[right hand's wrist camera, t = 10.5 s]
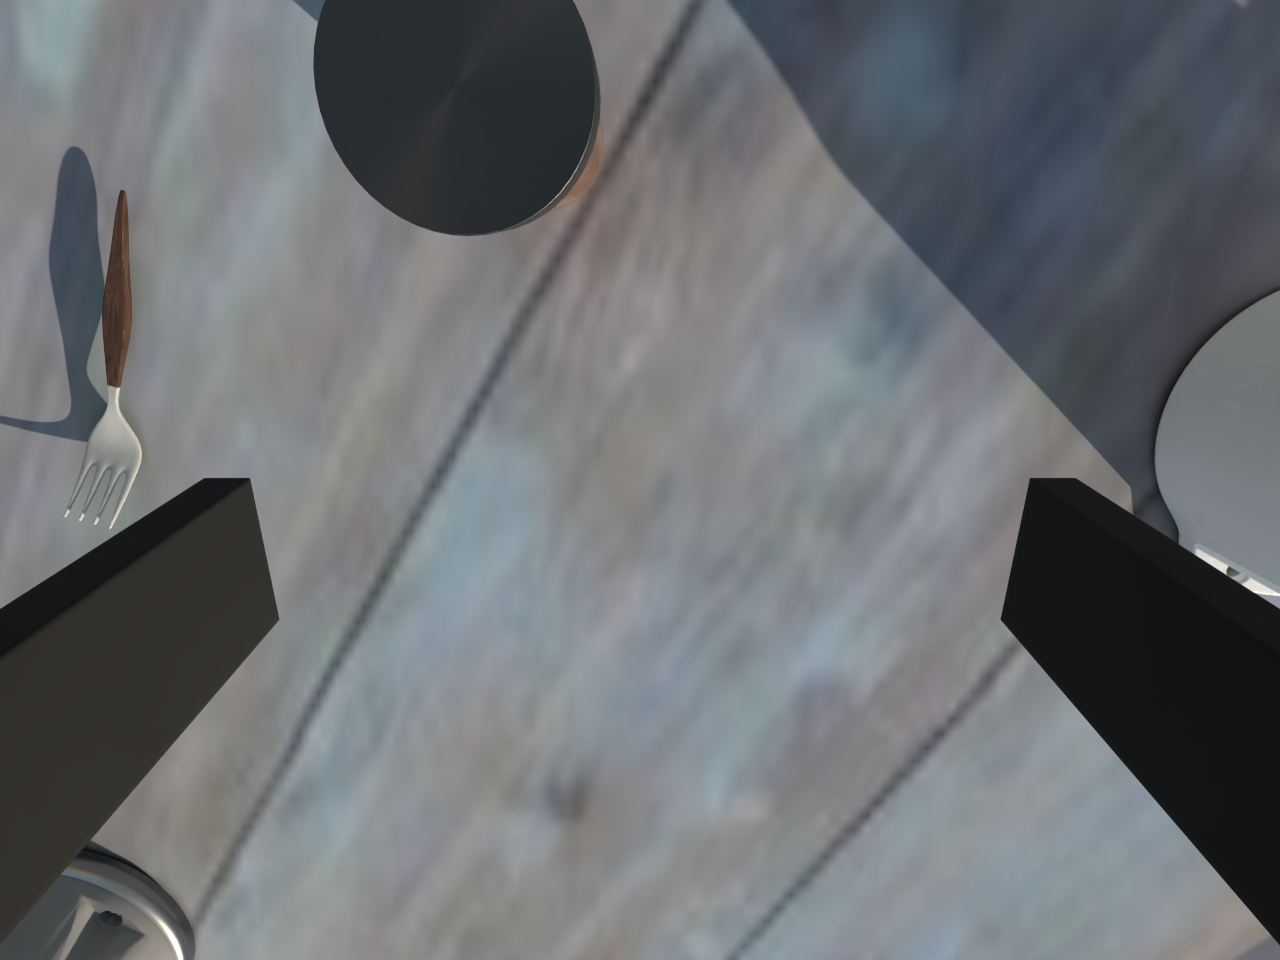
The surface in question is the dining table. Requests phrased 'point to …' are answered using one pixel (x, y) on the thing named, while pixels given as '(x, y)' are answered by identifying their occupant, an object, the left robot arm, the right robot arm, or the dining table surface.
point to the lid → (459, 106)
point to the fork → (113, 380)
